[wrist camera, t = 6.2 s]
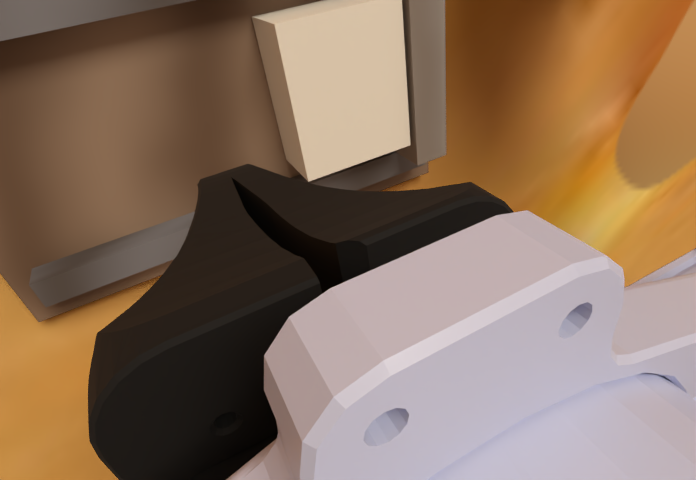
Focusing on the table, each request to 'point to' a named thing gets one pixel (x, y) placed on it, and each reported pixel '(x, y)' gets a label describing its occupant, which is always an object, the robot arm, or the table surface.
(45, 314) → the brown and grey tray
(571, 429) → the robot arm
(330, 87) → the block
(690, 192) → the table surface
